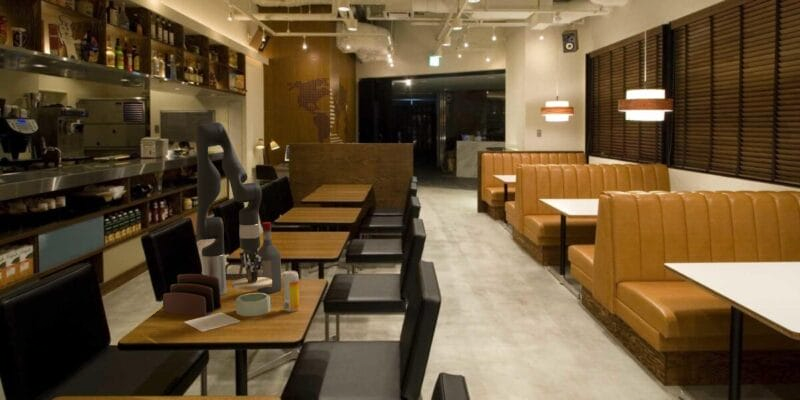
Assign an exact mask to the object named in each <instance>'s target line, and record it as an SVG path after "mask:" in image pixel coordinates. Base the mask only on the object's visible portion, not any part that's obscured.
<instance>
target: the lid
mask: <svg viewBox="0 0 800 400" xmlns="http://www.w3.org/2000/svg"><path fill="white" fill-rule="evenodd" d="M247 276H248V279H247V278H246V277H244V278H240V279H236V280H235V281H233V282H232V283H231V288H233V289H235V290H241V291H242V290H243V291H247V290H249V291H252V290H258V289H260V288H265V287H268V286H270V285H271V284H272V279H270V278H266V277H257V281H252V280H251V268H250V269H247Z"/></svg>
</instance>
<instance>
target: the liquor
mask: <svg viewBox="0 0 800 400" xmlns="http://www.w3.org/2000/svg"><path fill="white" fill-rule="evenodd" d="M262 236H263V237H262V238H263V242H262V246H260V247H259V248H258V249H257V250H258V255H259V256H262V257H263V259H262V264H261V269H260V270H258V271H257V277H266V278H270V279H272V284H271V285H270V286H268V287H265V288H260V289H257V291H258V293H265V294H274V293H277V292H280V291H282V289H283V281H282V265H281V264H282V263H281V252H280V250H279V249H278V248H277V247H276V246H275V245H274V244H273V241H272V222H271V221H265V222H262Z"/></svg>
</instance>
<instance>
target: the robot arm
mask: <svg viewBox="0 0 800 400" xmlns="http://www.w3.org/2000/svg"><path fill="white" fill-rule="evenodd" d="M194 133H195V135H194V136H195V137H194V139H195V148H196V159H197V160H196V162H197V163H196V164H197V167H196V168H197V169H196V170H197V171H196V172H197V176H196V177H197V178H196V181H197V182H196V188H197V189H196V190H197V193H196V194H197V211H196V212H197V213H196V214H197V215H196V227H195V228H196V230H195V231H196V235H197V239H199V240H201V241H206V240H207V241H208V240H214V241H213V242H212V243H210V244H208V245H207V246H204V247H203V248H202V249H201V261H202V262H201V263H202V275H208V276H213V277H217V278H218V279H219V288H220V296H223V295H225V294H227V280H226V279H227V277H226V276H227V275H226V262H225V261H226V258H225V240H224V239H225V238H224V237H225V236H224V235H225V234H224V233H225V228H224V227H225V226H224V221H223V218H222V217H221V216H220V217H219V216H212V217H207V215H208V212H209V210H210V209H211V207H212V205H213V204H214V203H215V202H216V200H217V198H218V196H219V195H220V192H221V190H222V187H221V184H222V182H221V181H222V179H221V173H220V172H219V169H217V167H216V166H215V165H214V163H213V162H212V160H211V158H210V155H209V147H210V148H212V147H217V146H219V147H221V149H222V152H223V153H222V154H223V156H222V159H221V160H222V161H221V167H222V170H223V173H224V174H225V176H226V177H227V179H228V181H229V183H230V184H229V185H230V188H231V192H232V197H233V199H234V200H235V201H236V202H238V203H239V204H240V203H242V204H243V203H247V205H246V206H245V207H243V208H241V209H240V210H239V212H238V218H239V220H238V221H239V229H238V230H239V231H238V232H239V233H238V234H239V246H240V247H239V248H240V249H241V250H242V252H239V258H240V261H241V265H242V268H244V270H245V274H246V275H245V276H246V277H245V278H247V279H248V276H247V269H250V268H251V280H252V281H257V271H258V270H260V269H261V264H262V259H263V257H262V256H259V255H258V250H259V249H260V248H261V234H260V231H261V229H260V226H259V225H260V224H259V223H260V222H259V211H260V206H261V202H262V196H263V192H262V187H261V186H260V185H259V184H258V183H256V182H249V183H248V182H247V180H248V174H247V171H246V170H245V168H244V167H243V165H242V163H241V162H240V160H239V159H238V156H237V154H236V152H235V149H234V147H233V144H232V141H231V139H230V137H229V134H228V131H227V129H226V127H225V126H224V125H223V124H222V123H221V122H210V123H209V122H208V123H201V124H198V125H197V126H196V128H195V131H194ZM246 182H247V183H246Z"/></svg>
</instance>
